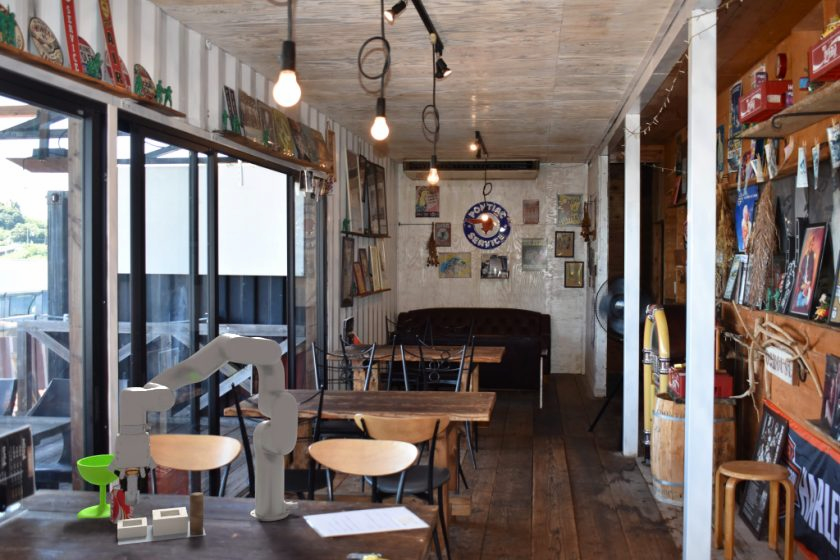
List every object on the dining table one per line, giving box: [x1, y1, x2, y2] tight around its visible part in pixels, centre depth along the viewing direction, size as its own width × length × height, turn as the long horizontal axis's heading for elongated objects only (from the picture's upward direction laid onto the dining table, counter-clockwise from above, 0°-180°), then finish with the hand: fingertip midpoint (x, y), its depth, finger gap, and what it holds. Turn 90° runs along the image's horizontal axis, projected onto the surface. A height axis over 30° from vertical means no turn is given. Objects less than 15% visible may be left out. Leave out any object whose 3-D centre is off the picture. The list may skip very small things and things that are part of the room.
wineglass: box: [76, 454, 126, 519], centre depth 258 cm, size 16×16×18 cm
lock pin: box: [124, 468, 141, 506], centre depth 230 cm, size 4×4×10 cm
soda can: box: [109, 483, 135, 525], centre depth 249 cm, size 7×7×12 cm
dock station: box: [117, 506, 207, 546], centre depth 238 cm, size 25×15×6 cm, turn 111°
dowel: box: [189, 492, 205, 535], centre depth 237 cm, size 4×4×12 cm
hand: (132, 490), depth 230 cm, fingers closed on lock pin, 4 cm apart
